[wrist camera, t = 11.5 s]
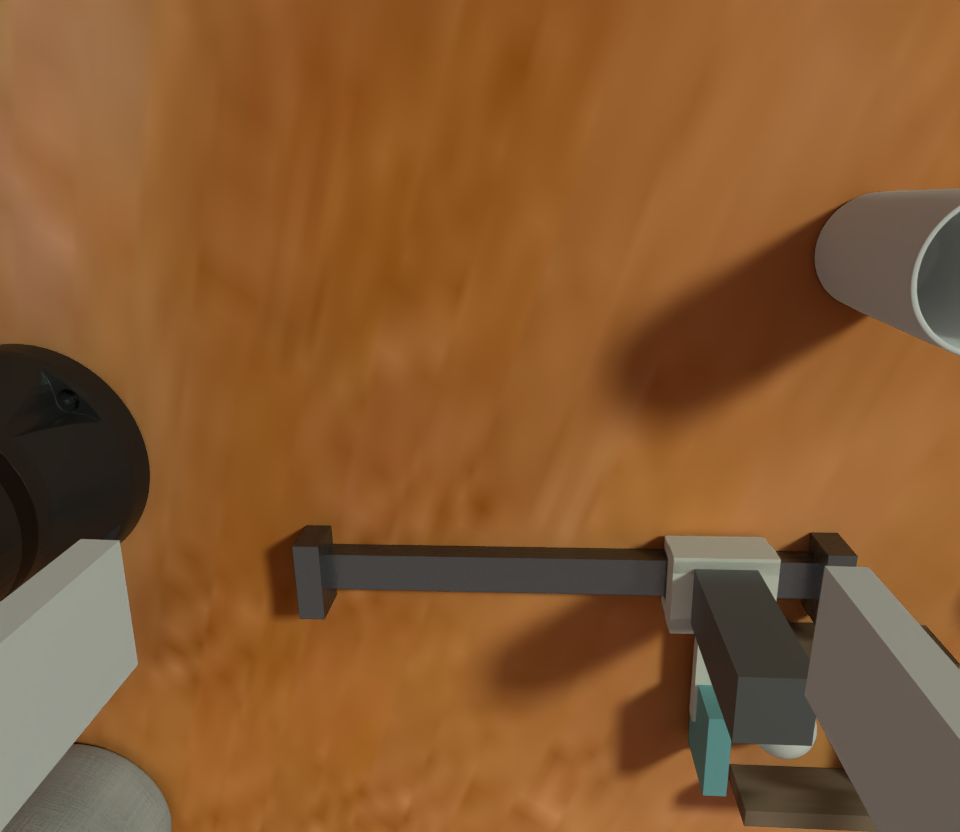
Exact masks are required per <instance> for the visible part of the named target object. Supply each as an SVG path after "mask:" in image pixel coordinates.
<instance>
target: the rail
mask: <svg viewBox="0 0 960 832" xmlns="http://www.w3.org/2000/svg"><path fill="white" fill-rule="evenodd" d="M292 549H293V559H294V569H295V578H296V588H297V598H298V608H299V617H300V619H325V618H326V616H327V614H328V612H329V610H330V608H331V606H332V604H333V602H334V599H335V597H336V595H337V589H370V590H417V591H465V592H512V593H559V594H607V595H654V596H666V585H667V568H668V557H667V554H666V551H665V549H607V548H546V547H485V546H424V545H362V544H333V542H332V530H331V526H314V525H307V526H306V527H305V529H304V530H303V532H302V533H301V535H300V536H299V538H298V539H297V540H296V542H295V543H294V545H293V546H292ZM776 553H777V554H778V556H779V557H780V559H781V564H780V573H779V583H778V592H777V598H797V599H803V602H802V605H803V607H804V608H805V610H806V611H807V613H808V615H809V616H810V618H811V619H812V621H813V623H814V624H815V625H816V619H817V613H818V607H819V600H820V594H821V588H822V581H823V575H824V569H825V566H847V567H856V564H857V557H858V556H857V555H856V554H855V553H854V551H853V550H852V549H851V548H850V547H849V546H848V544H847V543H846V542H845V541H844V540H843V539H842V537H841V536H840V535H839V534H838V533H811V535H810V543H809V551H808V552H791V551H776Z"/></svg>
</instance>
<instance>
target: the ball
mask: <svg viewBox="0 0 960 832" xmlns="http://www.w3.org/2000/svg"><path fill="white" fill-rule="evenodd" d="M816 736H817V724H816V720H815V727H814V735H813V742H812V746H813V744H814V742H815V740H816ZM759 746H760V747H761V748H762V749H763V750H765V751H766V752H768V753H769V754H771V755H773V756H775V757H778V758H782V759H794V758H798V757H800V756H802V755H804V754H806V753H807V752H808V751H809V750H810V749H811V748H812V746H798V745H770V744H759Z"/></svg>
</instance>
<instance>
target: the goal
mask: <svg viewBox="0 0 960 832" xmlns="http://www.w3.org/2000/svg"><path fill="white" fill-rule="evenodd" d="M788 623H789V625H790V627H791V628H792V630H793V632H794V633H795V635H796V637H797V639H798V640H799V642H800V644H801V646H802V647H803V649H804V651H805V653H806V654H807V656H808V658H809V660H810V657H811V651H812V644H813V638H814V632H815V624H814V623H797V622H788ZM920 626H921V627H922V628H923V629H924V630H925V631H926V632H927V634H928V635H929V636H930V637H931V638H932V639H933V640H934V641H935V643H936V644H937V645H938V646H939V647H940V648H941V649H942V650H943V652H944V653H945V654H946V655H947V656H948V657H949V658H950V660H951V661H952V662H953V663H954V664H955V665H956V666H957V667H958V669H959V666H960V664H959V662H958V661H957V660H956V659H955V658H954V657H953V656H952V655H951V653H950V652H949V651H948V650H947V649H946V648H945V647H944V645H943V644H942V643H941V642H940V641H939V640H938V639H937V638H936V636H935V635H934V634H933V633H932V632H931V631H930V630H929V628H928V627H927V626H924V625H920ZM729 780H730V783H731V786H732V789H733V793H734V796H735V799H736V802H737V805H738V808H739V811H740V814H741V818H742V821H743V824H744V826H757V827H779V828H802V829H824V830H847V831H870V832H878V831H877V829H876V827H875V825H874V823H873V821H872V819H871V818H870V816H869V814H868V812H867V810H866V808H865V806H864V805H863V803H862V801H861V799H860V797H859V795H858V793H857V792H856V790H855V788H854V786H853V784H852V782H851V780H850V779H849V777H848V775H847V773H846V771H845V769H836V768H809V767H783V766H757V765H731V764H730V774H729Z"/></svg>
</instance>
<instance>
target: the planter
mask: <svg viewBox="0 0 960 832" xmlns="http://www.w3.org/2000/svg"><path fill="white" fill-rule="evenodd" d="M171 829H172V821H171V815H170V810H169V807H168V804H167V802H166V800H165V798H164V796H163V794H162V792H161V791H160V789H159V788H158V786H157V785H156V784H155V782H154V781H153V780H152V779H151V778H150V776H149V775H148V774H147V773H146V772H144V771H143V770H142V769H141V768H140V767H138V766H137V765H136V764H134V763H133V762H132V761H130V760H129V759H127V758H125V757H123V756H121V755H119V754H116V753H114V752H112V751H109V750H107V749H104V748H100V747H95V746H90V745H83V744H72V746H71V747H70V748H69V749H68V750H67V752H66V753H65V754H64V755H63V757H62V758H61V759H60V760H59V761H58V763H57V764H56V765H55V766H54V768H53V769H52V770H51V771H50V772H49V774H48V775H47V776H46V777H45V779H44V780H43V781H42V782H41V783H40V785H39V786H38V787H37V788H36V790H35V791H34V792H33V793H32V794H31V796H30V797H29V798H28V799H27V801H26V802H25V803H24V804H23V805H22V807H21V808H20V809H19V810H18V812H17V813H16V814H15V815H14V816H13V818H12V819H11V820H10V821H9V823H8V824H7V825H6V826H5V827H4V829H3V830H2V831H1V832H171Z"/></svg>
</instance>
